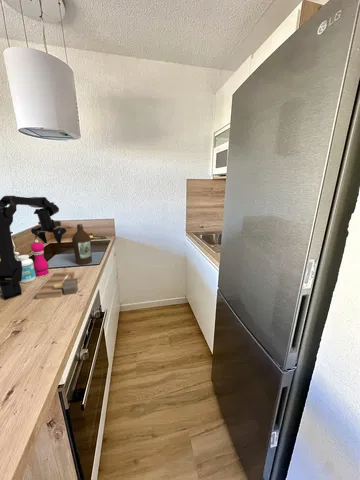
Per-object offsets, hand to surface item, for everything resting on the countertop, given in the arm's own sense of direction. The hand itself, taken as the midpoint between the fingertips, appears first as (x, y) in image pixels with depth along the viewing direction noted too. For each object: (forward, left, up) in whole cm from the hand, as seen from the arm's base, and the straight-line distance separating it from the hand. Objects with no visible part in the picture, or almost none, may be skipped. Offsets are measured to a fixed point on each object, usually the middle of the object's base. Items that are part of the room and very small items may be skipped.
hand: (52, 243), depth 124 cm
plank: (-10, -27, -15) cm, 32 cm away
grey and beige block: (-11, -37, -15) cm, 41 cm away
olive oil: (+15, -5, -15) cm, 22 cm away
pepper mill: (-9, -4, -15) cm, 18 cm away
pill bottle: (-17, -7, -15) cm, 24 cm away
